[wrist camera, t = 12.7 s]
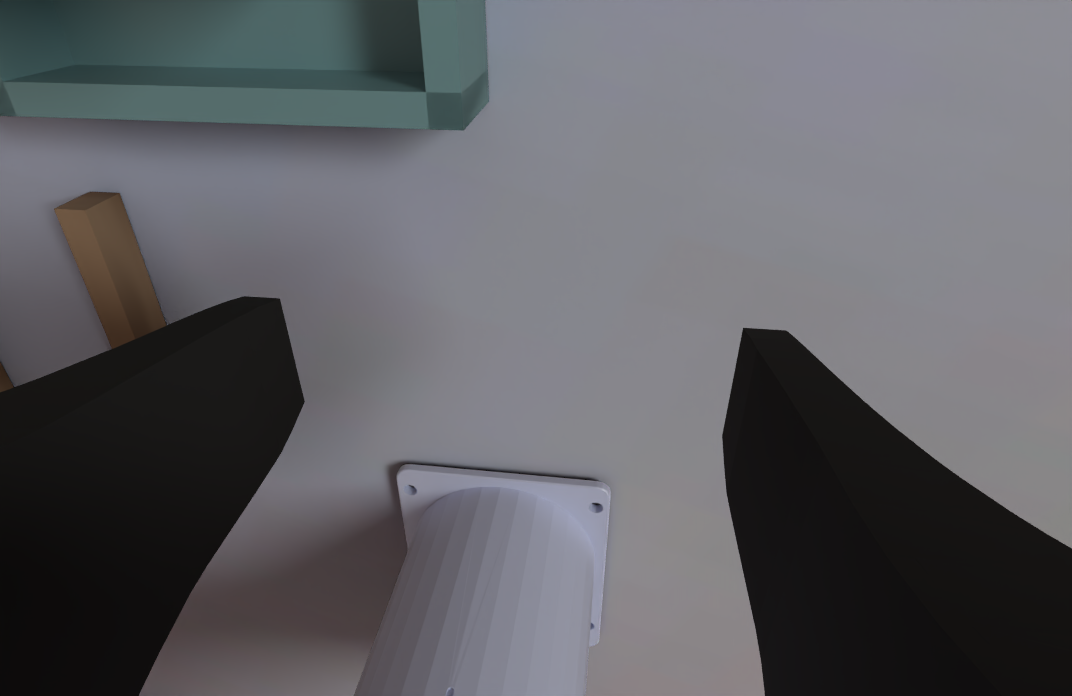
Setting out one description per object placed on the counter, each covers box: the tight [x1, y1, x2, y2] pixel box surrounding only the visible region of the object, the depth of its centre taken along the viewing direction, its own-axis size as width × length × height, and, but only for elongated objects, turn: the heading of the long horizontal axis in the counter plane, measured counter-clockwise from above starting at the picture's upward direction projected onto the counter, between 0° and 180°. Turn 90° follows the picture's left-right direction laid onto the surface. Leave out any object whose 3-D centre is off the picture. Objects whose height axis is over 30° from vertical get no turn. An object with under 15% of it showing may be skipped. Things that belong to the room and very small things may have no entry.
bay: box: [0, 192, 167, 392], centre depth 23 cm, size 10×8×2 cm
